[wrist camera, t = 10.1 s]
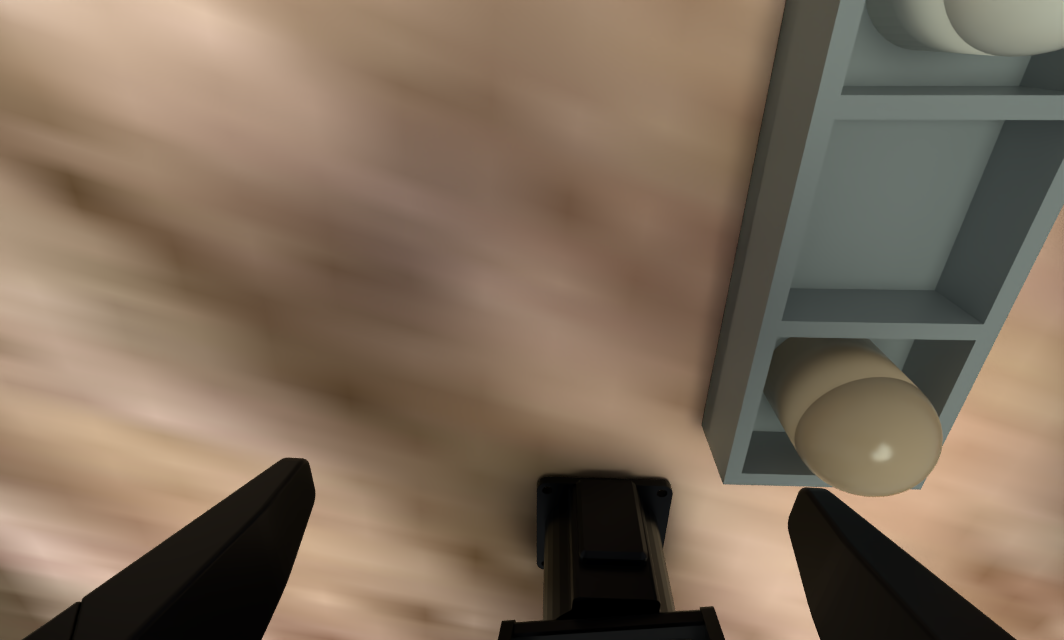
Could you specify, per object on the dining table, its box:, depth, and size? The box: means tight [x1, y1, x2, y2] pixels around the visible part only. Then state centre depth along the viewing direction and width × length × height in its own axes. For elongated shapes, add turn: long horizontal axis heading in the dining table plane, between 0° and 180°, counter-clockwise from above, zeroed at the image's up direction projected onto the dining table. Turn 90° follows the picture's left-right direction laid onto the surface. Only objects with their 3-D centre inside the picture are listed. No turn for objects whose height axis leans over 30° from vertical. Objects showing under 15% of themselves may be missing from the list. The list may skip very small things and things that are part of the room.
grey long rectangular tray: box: [702, 0, 1064, 490], centre depth 17 cm, size 21×8×4 cm, turn 0°
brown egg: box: [763, 337, 943, 497], centre depth 18 cm, size 4×4×6 cm
